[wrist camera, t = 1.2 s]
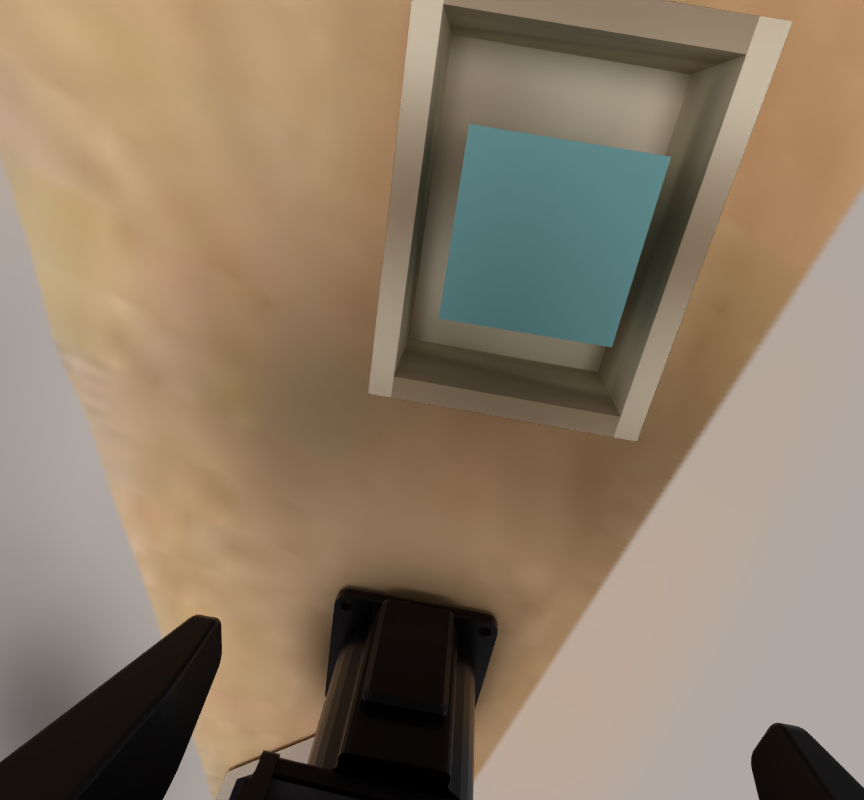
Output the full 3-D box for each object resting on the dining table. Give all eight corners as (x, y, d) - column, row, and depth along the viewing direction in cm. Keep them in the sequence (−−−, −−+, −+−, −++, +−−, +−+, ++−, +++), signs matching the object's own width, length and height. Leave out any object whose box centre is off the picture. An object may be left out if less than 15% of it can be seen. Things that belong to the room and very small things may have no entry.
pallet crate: (605, 380, 17) (636, 441, 14) (392, 342, 17) (368, 393, 14) (709, 55, 13) (792, 21, 10) (435, 10, 14) (416, -41, 10)
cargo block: (584, 306, 15) (611, 347, 12) (447, 283, 15) (438, 318, 12) (626, 154, 14) (671, 156, 10) (471, 129, 14) (469, 124, 10)
